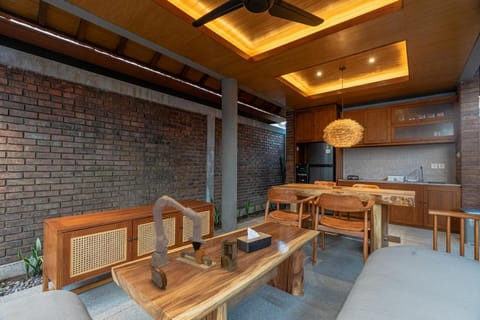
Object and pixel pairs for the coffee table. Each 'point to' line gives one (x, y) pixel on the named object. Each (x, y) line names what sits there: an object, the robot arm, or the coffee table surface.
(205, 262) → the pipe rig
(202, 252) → the orange block with hole
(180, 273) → the coffee table surface
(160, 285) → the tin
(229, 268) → the coffee box
